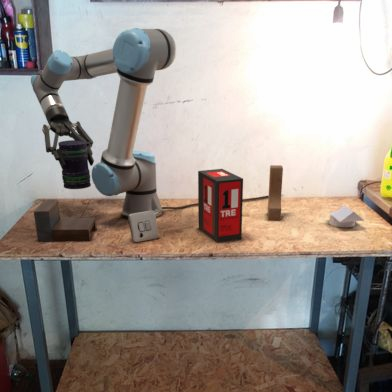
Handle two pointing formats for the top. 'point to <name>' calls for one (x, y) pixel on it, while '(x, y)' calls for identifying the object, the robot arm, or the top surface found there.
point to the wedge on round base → (344, 217)
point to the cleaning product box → (220, 204)
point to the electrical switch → (143, 226)
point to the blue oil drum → (75, 164)
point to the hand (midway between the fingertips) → (78, 165)
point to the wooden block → (275, 192)
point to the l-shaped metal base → (60, 224)
